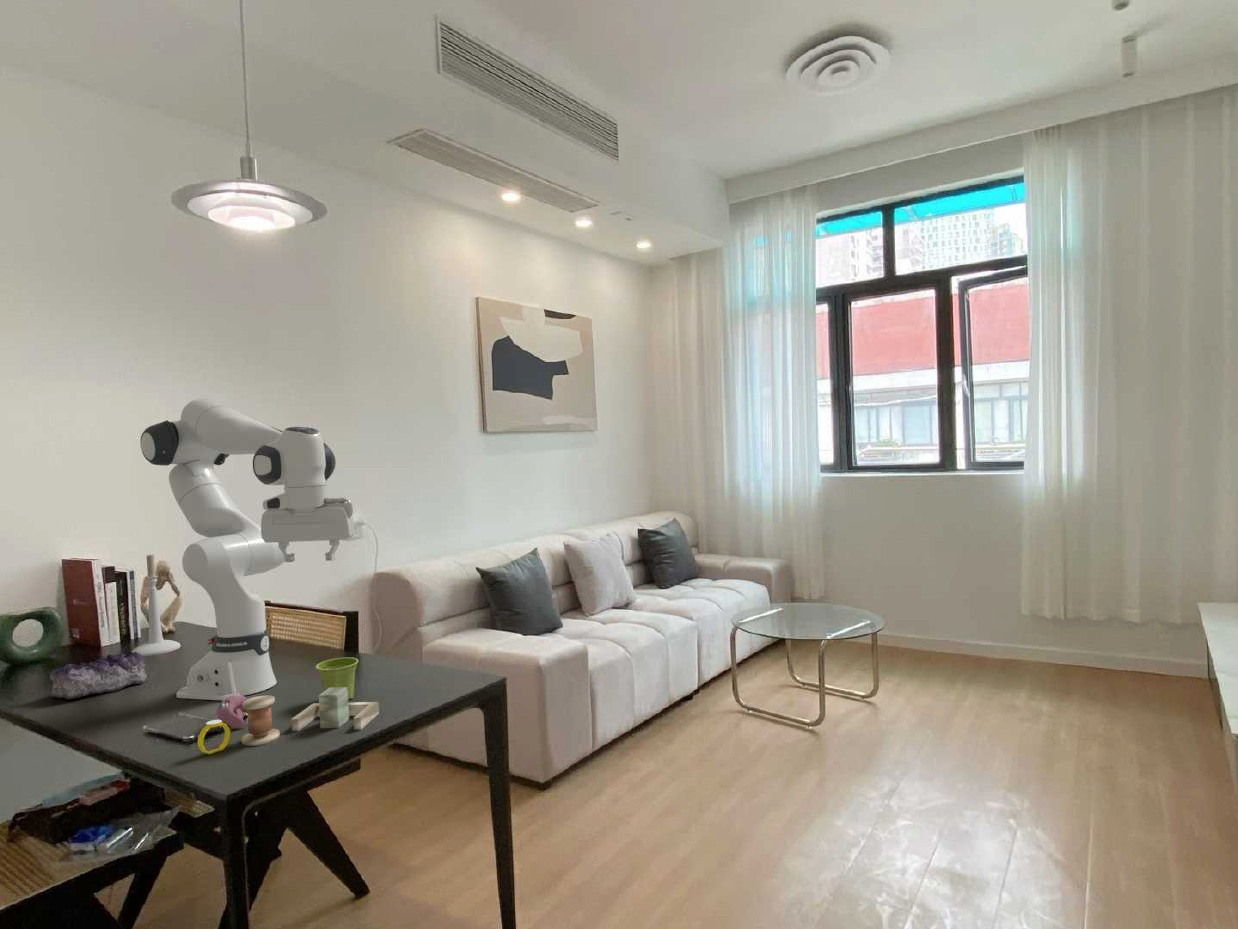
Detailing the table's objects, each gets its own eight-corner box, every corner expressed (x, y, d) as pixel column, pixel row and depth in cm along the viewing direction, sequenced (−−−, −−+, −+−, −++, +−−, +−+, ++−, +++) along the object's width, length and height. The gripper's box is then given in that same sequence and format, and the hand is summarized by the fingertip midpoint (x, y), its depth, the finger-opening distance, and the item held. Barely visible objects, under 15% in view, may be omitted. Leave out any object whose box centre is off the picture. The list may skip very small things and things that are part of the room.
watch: (204, 759, 144) (202, 728, 143) (195, 756, 145) (193, 726, 145) (233, 747, 149) (231, 717, 149) (225, 745, 150) (223, 715, 150)
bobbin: (234, 746, 149) (232, 707, 149) (254, 732, 156) (251, 695, 156) (268, 745, 149) (265, 706, 149) (286, 732, 156) (283, 694, 156)
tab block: (320, 728, 157) (318, 695, 157) (331, 719, 162) (329, 687, 162) (338, 728, 157) (337, 695, 157) (349, 719, 162) (347, 687, 162)
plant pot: (320, 709, 169) (317, 671, 168) (316, 697, 177) (313, 661, 177) (363, 701, 173) (361, 664, 173) (357, 690, 181) (355, 655, 181)
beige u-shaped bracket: (292, 731, 156) (291, 719, 156) (313, 714, 166) (313, 703, 166) (361, 729, 155) (360, 718, 155) (379, 713, 165) (378, 702, 164)
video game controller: (244, 721, 168) (227, 695, 167) (262, 710, 168) (246, 684, 168) (225, 738, 158) (208, 710, 158) (245, 727, 159) (228, 699, 158)
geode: (139, 676, 203) (140, 640, 202) (152, 690, 195) (153, 653, 194) (46, 694, 188) (47, 656, 187) (56, 710, 180) (57, 670, 179)
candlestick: (190, 644, 235) (184, 550, 234) (156, 656, 222) (149, 556, 221) (156, 644, 237) (150, 550, 237) (121, 655, 225) (114, 557, 224)
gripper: (357, 496, 168) (361, 557, 168) (270, 500, 170) (274, 560, 170) (345, 498, 162) (349, 561, 162) (255, 502, 163) (259, 565, 164)
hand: (310, 561), depth 166 cm, fingers open, 8 cm apart
